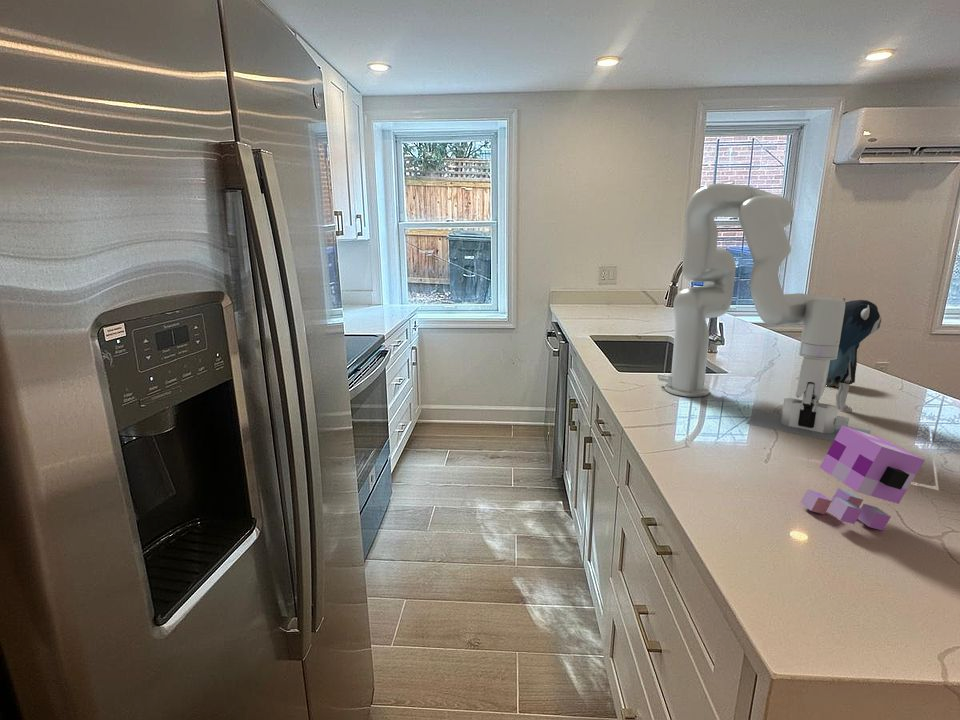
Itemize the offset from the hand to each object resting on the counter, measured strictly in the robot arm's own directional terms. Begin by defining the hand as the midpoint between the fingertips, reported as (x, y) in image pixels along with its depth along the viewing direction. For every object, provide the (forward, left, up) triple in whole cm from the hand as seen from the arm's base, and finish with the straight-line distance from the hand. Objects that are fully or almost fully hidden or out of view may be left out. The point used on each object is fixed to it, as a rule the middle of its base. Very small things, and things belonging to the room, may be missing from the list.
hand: (807, 423), depth 122 cm
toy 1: (+5, +20, -2) cm, 21 cm away
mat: (0, 0, -2) cm, 2 cm away
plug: (+1, 0, -1) cm, 2 cm away
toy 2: (+12, -42, -2) cm, 44 cm away
